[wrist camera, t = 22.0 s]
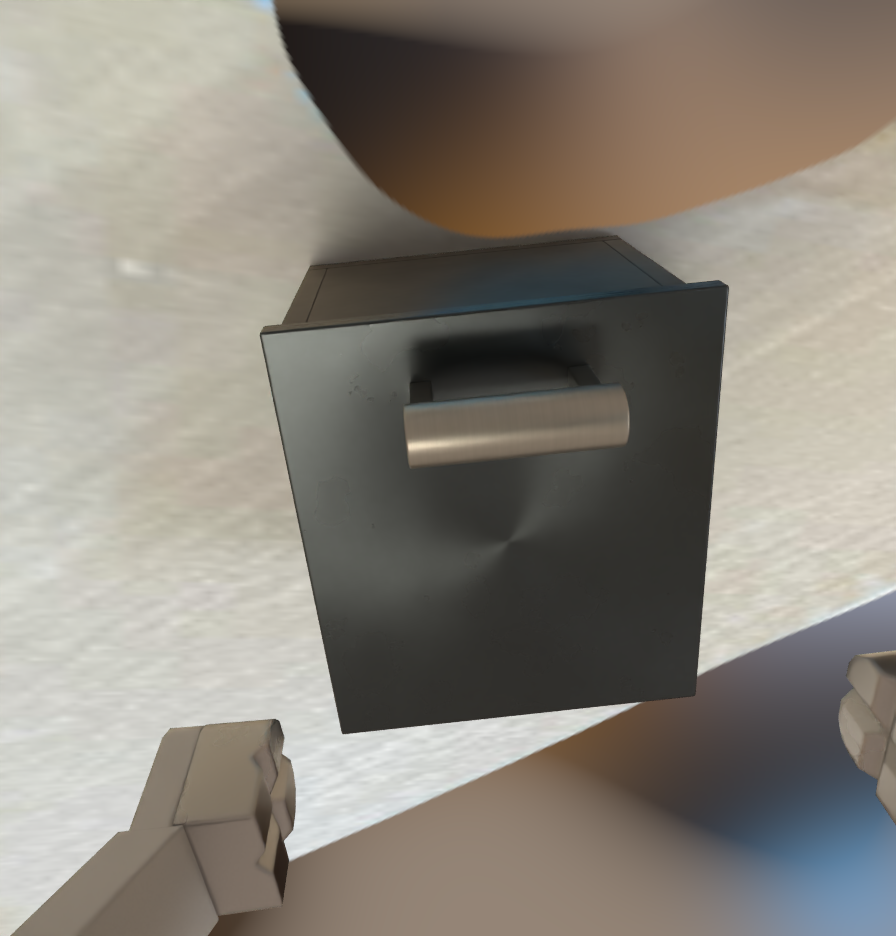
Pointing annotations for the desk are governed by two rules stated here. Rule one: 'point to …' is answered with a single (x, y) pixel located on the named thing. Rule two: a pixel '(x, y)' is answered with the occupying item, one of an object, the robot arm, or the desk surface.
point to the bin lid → (505, 499)
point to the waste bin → (473, 278)
